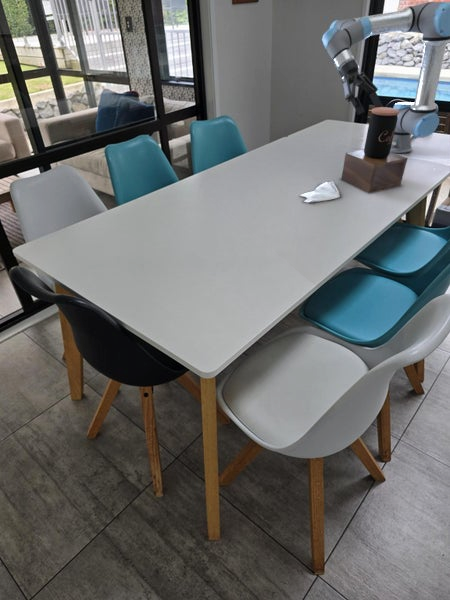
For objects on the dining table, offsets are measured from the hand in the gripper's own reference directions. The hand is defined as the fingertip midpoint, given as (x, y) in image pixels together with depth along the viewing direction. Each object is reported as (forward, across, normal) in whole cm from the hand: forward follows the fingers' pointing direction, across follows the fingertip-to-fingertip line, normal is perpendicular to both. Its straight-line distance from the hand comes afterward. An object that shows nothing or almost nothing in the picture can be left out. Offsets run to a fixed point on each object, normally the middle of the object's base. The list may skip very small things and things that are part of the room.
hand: (371, 110), depth 170 cm
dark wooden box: (+25, 0, -16) cm, 30 cm away
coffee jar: (+17, 0, -8) cm, 18 cm away
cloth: (+21, +26, -20) cm, 39 cm away
